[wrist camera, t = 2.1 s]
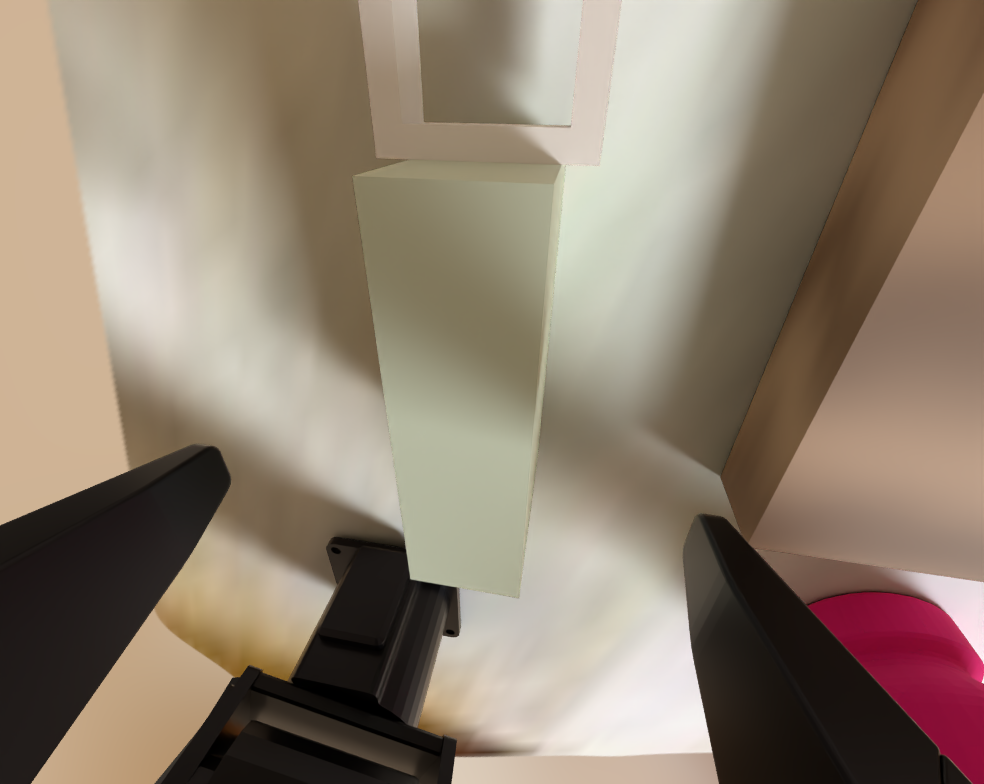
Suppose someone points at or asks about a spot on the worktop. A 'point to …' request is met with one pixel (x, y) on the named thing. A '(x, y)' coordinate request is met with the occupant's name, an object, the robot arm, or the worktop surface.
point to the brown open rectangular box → (886, 336)
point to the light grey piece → (467, 295)
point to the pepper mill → (917, 667)
